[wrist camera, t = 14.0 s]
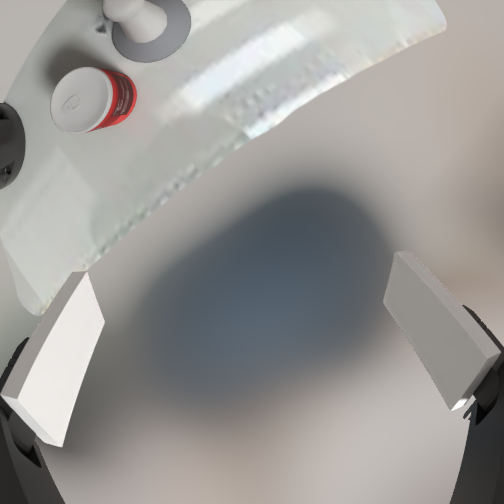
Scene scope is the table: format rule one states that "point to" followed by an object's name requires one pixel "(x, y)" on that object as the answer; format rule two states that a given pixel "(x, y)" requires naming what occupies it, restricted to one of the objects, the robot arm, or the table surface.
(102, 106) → the canned food
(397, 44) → the table surface
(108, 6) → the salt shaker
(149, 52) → the coaster
